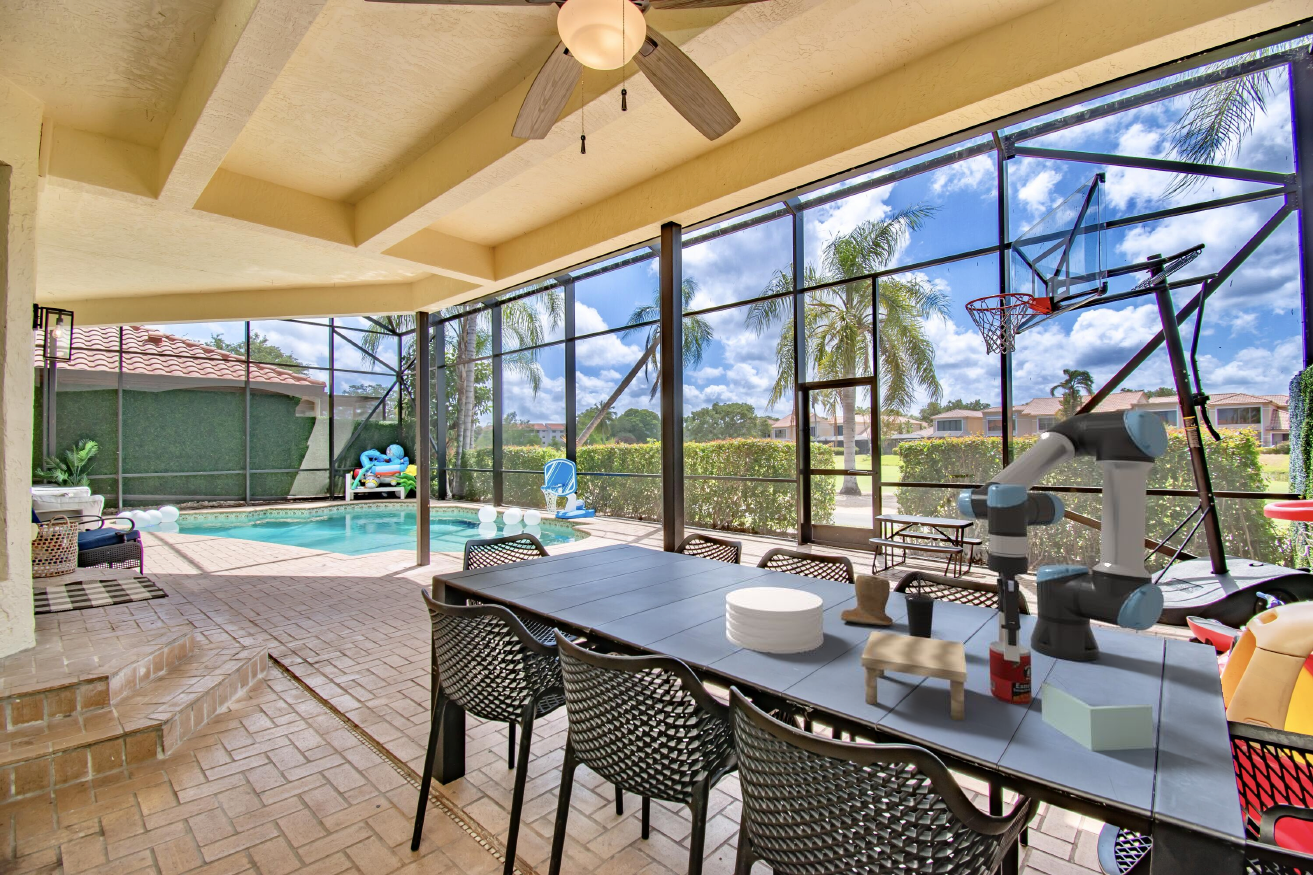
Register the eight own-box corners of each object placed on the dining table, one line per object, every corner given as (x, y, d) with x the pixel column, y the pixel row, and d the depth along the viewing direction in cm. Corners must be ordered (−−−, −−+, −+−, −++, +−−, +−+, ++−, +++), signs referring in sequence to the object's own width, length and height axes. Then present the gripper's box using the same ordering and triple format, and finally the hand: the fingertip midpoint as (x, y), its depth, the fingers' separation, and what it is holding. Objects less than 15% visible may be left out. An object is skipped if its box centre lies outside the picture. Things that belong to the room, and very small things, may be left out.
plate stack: (834, 632, 172) (834, 594, 173) (805, 661, 149) (805, 616, 149) (748, 618, 187) (748, 583, 188) (710, 642, 164) (709, 602, 164)
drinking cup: (929, 642, 162) (928, 571, 162) (940, 651, 154) (938, 577, 155) (901, 641, 163) (900, 571, 163) (910, 651, 155) (909, 577, 156)
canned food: (1018, 707, 121) (1017, 655, 121) (982, 693, 128) (981, 644, 128) (1039, 700, 124) (1038, 649, 124) (1003, 687, 131) (1002, 638, 131)
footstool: (964, 686, 132) (963, 642, 132) (967, 723, 114) (966, 672, 114) (872, 671, 141) (871, 630, 141) (862, 703, 123) (861, 656, 123)
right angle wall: (1153, 747, 104) (1152, 706, 104) (1091, 750, 103) (1090, 708, 103) (1098, 717, 116) (1097, 680, 116) (1042, 719, 115) (1041, 682, 115)
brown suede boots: (893, 619, 184) (892, 573, 185) (892, 630, 173) (891, 580, 174) (844, 614, 190) (843, 569, 191) (840, 624, 179) (839, 576, 180)
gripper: (984, 545, 140) (985, 632, 139) (992, 561, 117) (993, 665, 117) (1020, 547, 136) (1021, 637, 135) (1035, 564, 114) (1037, 672, 113)
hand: (1008, 650), depth 126 cm, fingers open, 13 cm apart
